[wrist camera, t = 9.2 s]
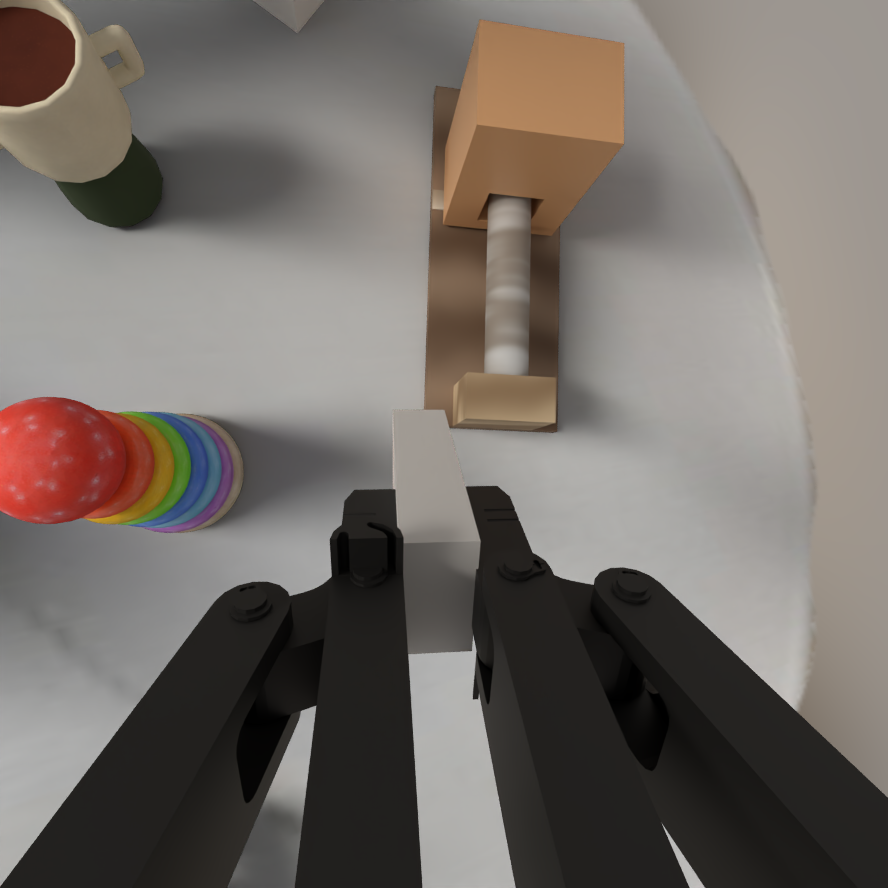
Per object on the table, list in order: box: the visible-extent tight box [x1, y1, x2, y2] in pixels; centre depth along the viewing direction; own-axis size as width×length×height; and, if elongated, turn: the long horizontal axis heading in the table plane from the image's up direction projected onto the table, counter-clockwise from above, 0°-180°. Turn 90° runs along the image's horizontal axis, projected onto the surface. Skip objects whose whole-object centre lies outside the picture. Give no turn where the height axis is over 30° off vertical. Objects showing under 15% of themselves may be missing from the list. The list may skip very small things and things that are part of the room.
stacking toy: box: [0, 397, 244, 533], centre depth 29 cm, size 8×8×19 cm
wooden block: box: [443, 20, 624, 236], centre depth 36 cm, size 6×8×12 cm
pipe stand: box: [424, 86, 560, 433], centre depth 40 cm, size 26×10×6 cm, turn 178°
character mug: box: [0, 0, 163, 227], centre depth 33 cm, size 11×7×13 cm, turn 125°
